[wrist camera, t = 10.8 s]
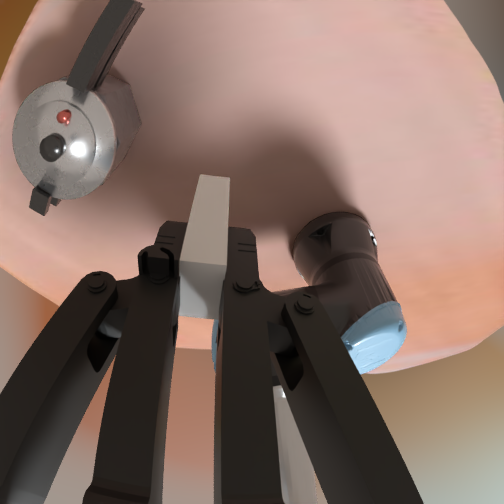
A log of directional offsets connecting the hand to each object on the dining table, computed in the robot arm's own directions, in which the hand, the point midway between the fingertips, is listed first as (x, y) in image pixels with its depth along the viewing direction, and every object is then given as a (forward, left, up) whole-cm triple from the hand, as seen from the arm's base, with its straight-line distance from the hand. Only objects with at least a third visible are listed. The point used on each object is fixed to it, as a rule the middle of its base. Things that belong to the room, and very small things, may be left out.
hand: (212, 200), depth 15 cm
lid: (0, +18, -19) cm, 26 cm away
